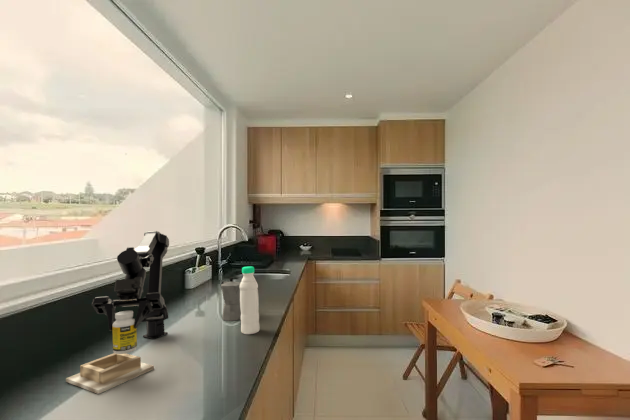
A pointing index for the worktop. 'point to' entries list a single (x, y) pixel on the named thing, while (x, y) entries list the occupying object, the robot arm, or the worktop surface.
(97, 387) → the socket
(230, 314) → the coffeepot
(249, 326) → the water bottle
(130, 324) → the pill bottle
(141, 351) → the worktop surface
